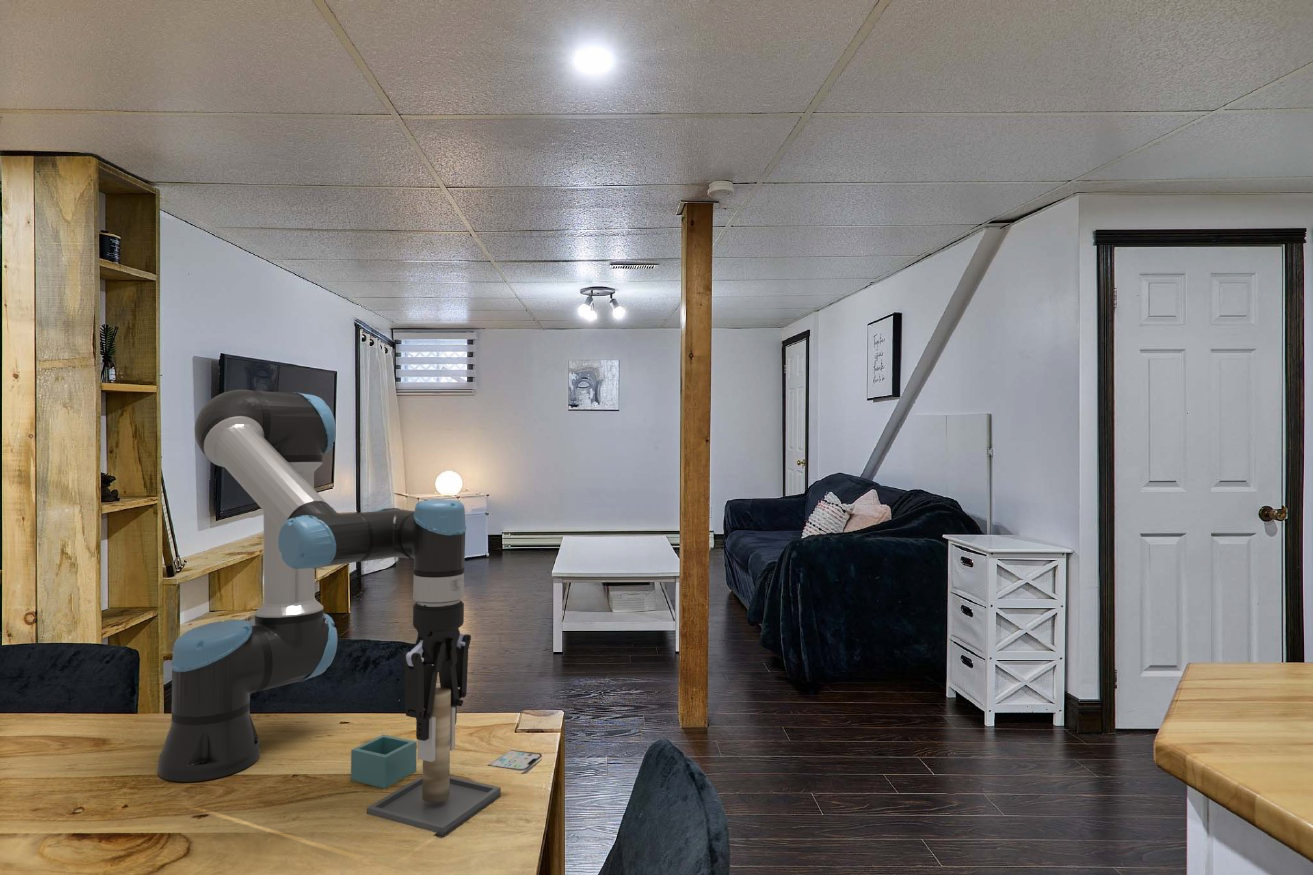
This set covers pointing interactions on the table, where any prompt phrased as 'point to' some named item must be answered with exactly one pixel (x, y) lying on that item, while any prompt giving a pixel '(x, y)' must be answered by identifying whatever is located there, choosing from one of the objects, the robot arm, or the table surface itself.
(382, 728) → the table surface
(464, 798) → the tray
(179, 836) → the table surface
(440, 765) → the dowel
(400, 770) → the teal open box
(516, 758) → the smartphone
